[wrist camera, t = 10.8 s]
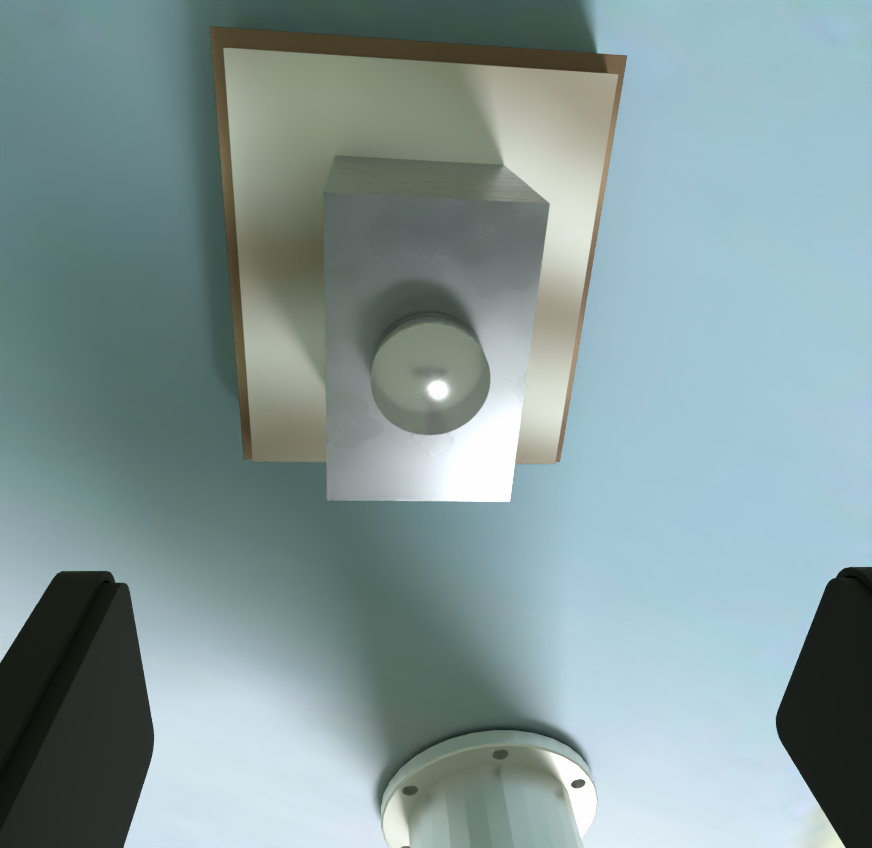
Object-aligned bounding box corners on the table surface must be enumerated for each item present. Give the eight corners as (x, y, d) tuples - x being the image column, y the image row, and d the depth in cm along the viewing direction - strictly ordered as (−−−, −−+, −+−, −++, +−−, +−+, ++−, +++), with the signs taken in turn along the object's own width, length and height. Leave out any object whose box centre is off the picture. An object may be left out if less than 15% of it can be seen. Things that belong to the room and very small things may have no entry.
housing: (504, 164, 21) (560, 212, 15) (479, 404, 25) (516, 522, 19) (334, 155, 20) (320, 200, 14) (335, 402, 24) (324, 522, 18)
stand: (542, 425, 30) (566, 475, 26) (255, 421, 29) (239, 473, 25) (597, 55, 23) (638, 56, 20) (229, 29, 22) (202, 25, 19)
